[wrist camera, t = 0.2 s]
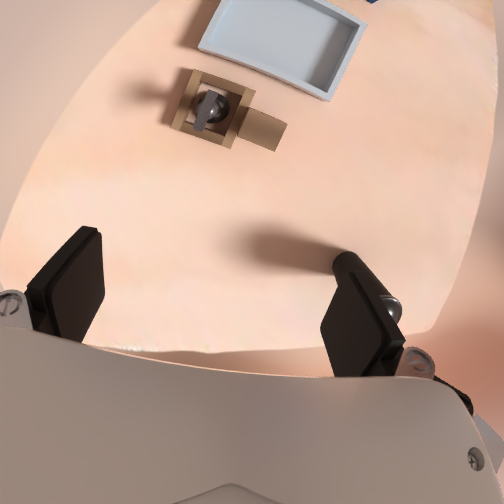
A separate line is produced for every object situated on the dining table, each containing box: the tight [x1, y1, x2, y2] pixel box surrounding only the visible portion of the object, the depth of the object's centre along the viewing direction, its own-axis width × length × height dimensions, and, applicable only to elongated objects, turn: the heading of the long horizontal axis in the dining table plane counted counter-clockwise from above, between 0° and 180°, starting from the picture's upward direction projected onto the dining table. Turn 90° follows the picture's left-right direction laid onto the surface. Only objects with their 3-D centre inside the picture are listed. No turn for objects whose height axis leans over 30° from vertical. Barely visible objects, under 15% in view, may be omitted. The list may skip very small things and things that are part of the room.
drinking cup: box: [332, 252, 402, 324], centre depth 38 cm, size 8×8×20 cm
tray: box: [198, 0, 368, 102], centre depth 28 cm, size 13×17×3 cm
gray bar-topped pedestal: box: [192, 89, 229, 132], centre depth 30 cm, size 4×4×10 cm
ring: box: [171, 69, 288, 152], centre depth 32 cm, size 8×12×6 cm, turn 67°
